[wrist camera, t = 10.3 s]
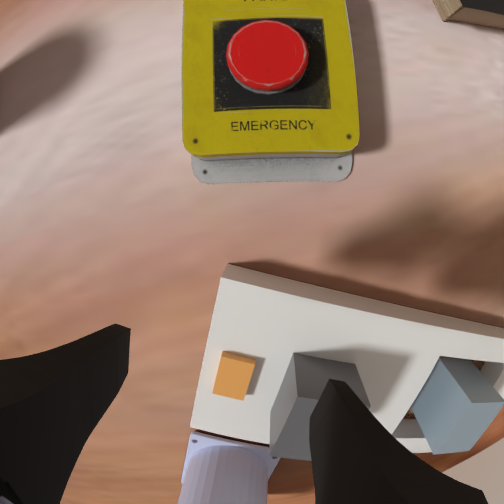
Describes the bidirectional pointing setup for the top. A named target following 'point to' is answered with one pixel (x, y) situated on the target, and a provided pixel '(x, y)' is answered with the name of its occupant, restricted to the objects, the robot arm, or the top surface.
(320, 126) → the emergency button
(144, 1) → the top surface
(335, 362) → the matte grey cube
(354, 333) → the white flat frame
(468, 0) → the file folder
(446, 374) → the slate plug
